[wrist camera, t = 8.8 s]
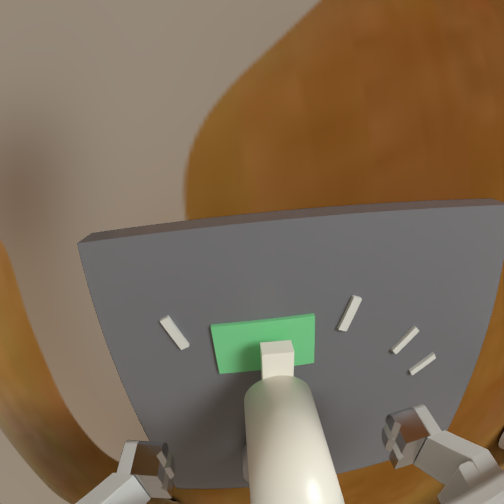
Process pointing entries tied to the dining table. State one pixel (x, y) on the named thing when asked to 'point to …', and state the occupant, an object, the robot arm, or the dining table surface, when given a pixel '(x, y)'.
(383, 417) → the dial plate
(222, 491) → the dining table surface
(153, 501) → the pastry
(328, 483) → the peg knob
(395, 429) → the robot arm
